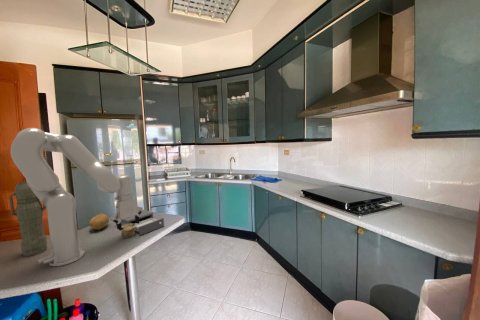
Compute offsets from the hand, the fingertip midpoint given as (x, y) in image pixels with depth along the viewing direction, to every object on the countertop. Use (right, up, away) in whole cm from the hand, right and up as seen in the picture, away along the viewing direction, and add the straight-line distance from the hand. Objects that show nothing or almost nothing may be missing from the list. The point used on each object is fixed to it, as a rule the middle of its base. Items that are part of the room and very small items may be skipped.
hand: (129, 226), depth 116 cm
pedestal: (0, -5, 0) cm, 5 cm away
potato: (-24, -5, +11) cm, 27 cm away
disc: (0, -1, -1) cm, 1 cm away
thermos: (-39, -8, -14) cm, 42 cm away
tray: (+5, -4, +10) cm, 11 cm away
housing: (-5, -4, +17) cm, 18 cm away
